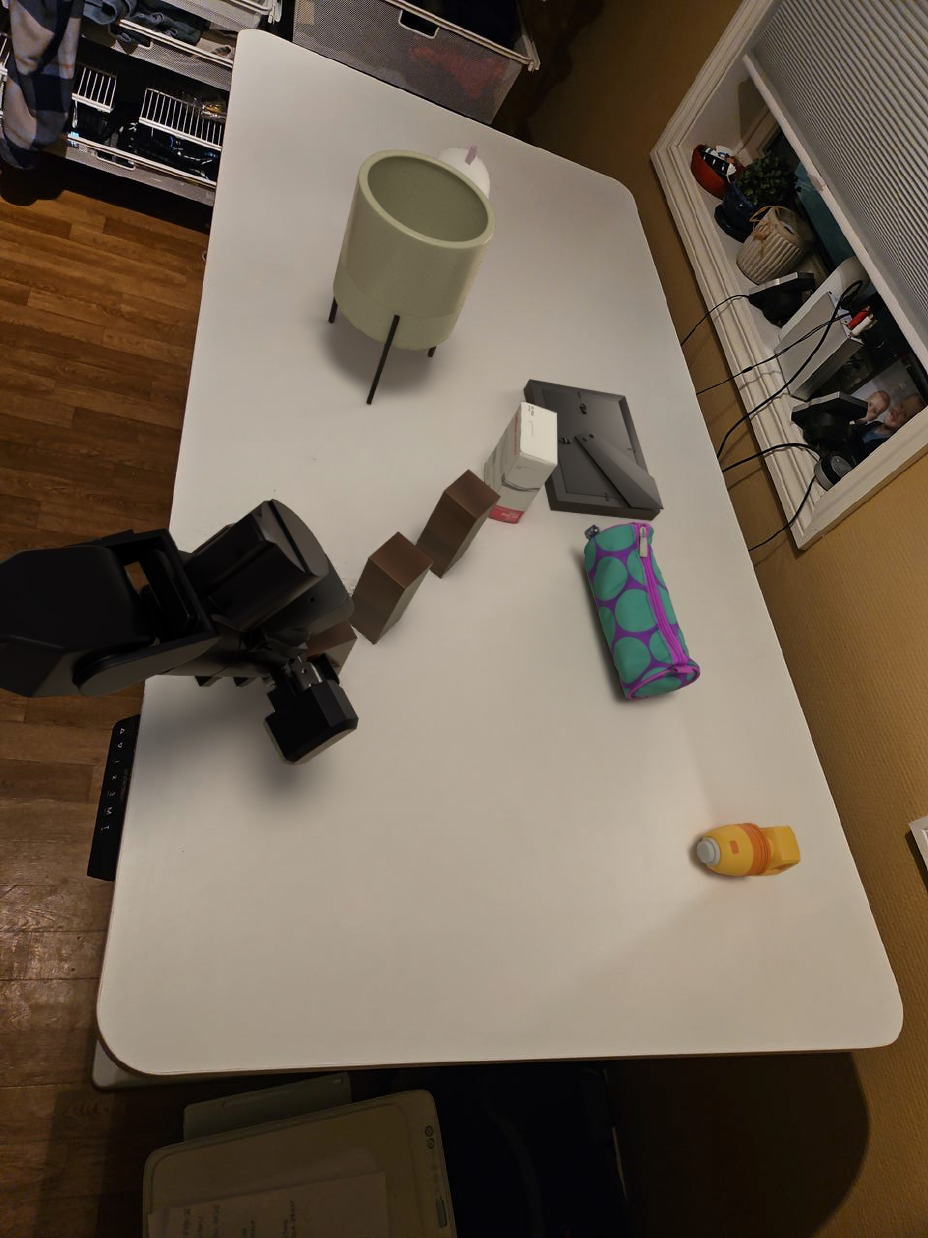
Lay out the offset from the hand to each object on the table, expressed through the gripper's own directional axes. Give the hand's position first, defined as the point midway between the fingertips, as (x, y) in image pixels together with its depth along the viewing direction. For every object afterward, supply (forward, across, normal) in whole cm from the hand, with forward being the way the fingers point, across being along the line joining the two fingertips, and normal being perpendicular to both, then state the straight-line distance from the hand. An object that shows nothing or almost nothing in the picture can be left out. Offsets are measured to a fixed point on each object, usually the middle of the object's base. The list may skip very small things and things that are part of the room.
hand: (323, 646), depth 63 cm
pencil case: (+34, -8, -20) cm, 40 cm away
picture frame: (+43, +16, -29) cm, 54 cm away
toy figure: (+31, -36, -17) cm, 50 cm away
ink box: (+31, +14, -17) cm, 38 cm away
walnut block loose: (+4, 0, +6) cm, 7 cm away
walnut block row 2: (+22, +9, -8) cm, 25 cm away
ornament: (+46, +63, -32) cm, 85 cm away
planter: (+27, +38, -14) cm, 48 cm away
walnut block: (+14, +4, 0) cm, 14 cm away
